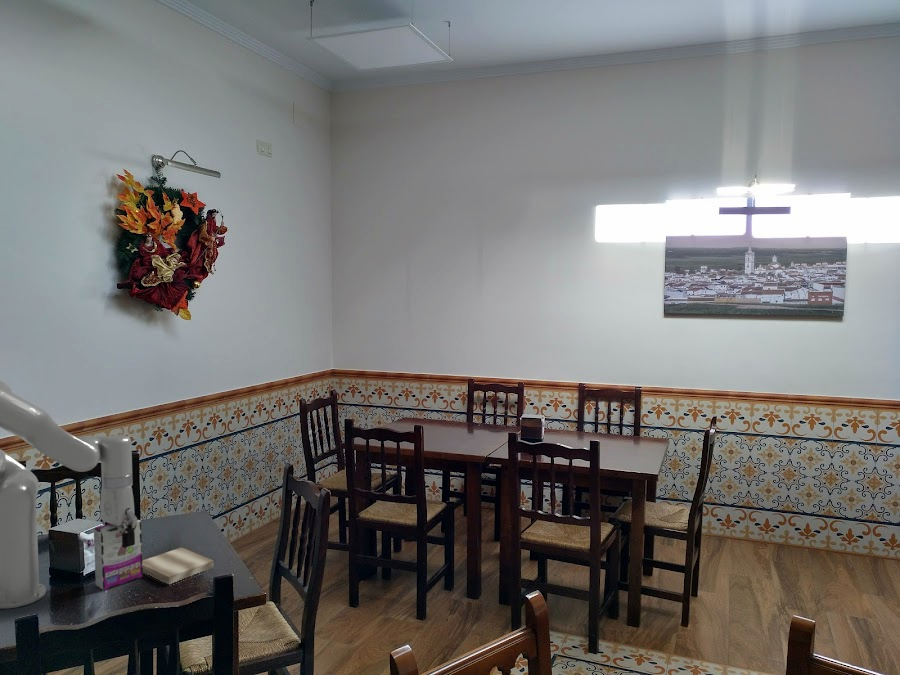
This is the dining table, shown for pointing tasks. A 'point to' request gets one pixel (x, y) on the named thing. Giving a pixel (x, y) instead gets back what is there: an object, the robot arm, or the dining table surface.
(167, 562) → the pale wooden block
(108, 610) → the dining table surface
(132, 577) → the candy bar box
